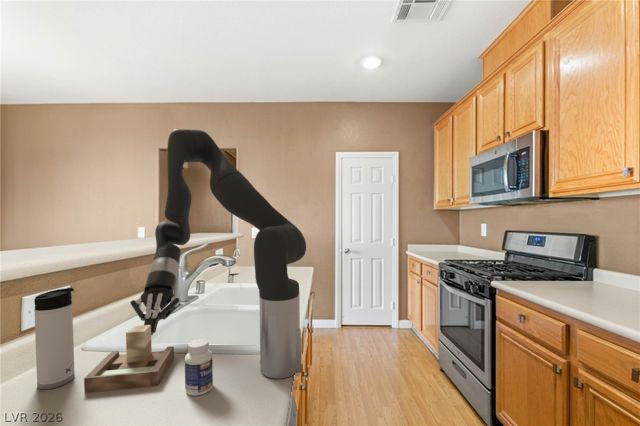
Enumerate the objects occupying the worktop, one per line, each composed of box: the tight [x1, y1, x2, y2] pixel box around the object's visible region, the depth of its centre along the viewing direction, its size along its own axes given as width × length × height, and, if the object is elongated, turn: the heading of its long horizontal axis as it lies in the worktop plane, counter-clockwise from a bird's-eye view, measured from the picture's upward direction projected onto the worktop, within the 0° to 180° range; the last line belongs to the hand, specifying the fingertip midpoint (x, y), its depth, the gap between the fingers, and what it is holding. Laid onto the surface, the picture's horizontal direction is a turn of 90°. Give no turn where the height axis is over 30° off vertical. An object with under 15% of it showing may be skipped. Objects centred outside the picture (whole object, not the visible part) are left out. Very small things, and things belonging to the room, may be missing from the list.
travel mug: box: [33, 286, 76, 390], centre depth 68 cm, size 6×7×20 cm
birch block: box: [125, 324, 153, 363], centre depth 75 cm, size 4×4×7 cm
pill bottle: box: [184, 338, 214, 397], centre depth 65 cm, size 5×5×10 cm
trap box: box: [83, 345, 175, 394], centre depth 71 cm, size 14×12×3 cm
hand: (148, 334), depth 81 cm, fingers closed
